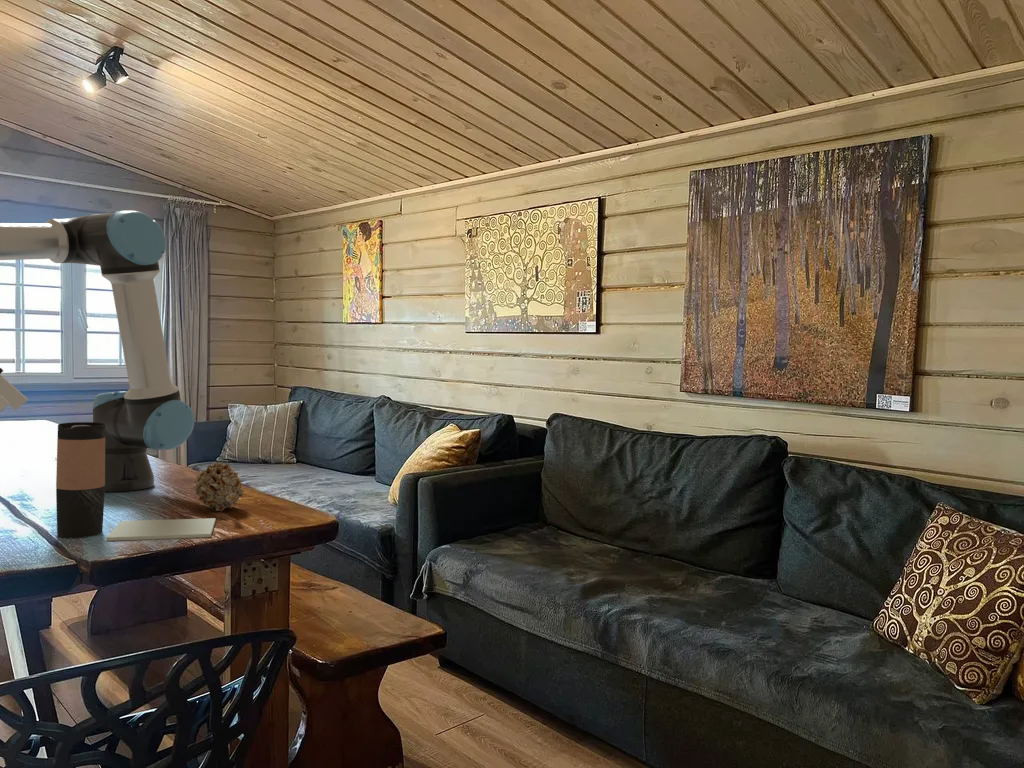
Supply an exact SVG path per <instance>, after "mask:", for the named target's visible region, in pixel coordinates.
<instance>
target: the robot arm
mask: <svg viewBox="0 0 1024 768" xmlns="http://www.w3.org/2000/svg"><path fill="white" fill-rule="evenodd" d="M165 235H166V234H165V232H164V230H163V229H162V227H161V226H160V224H159V223H158V221H156V219H154V218H153V217H152V216H150V215H148V213H147V214H146V213H145V212H142V211H138V210H124V209H123V210H117V211H112V212H111V211H110V212H103V213H93V214H87V215H82V216H77V217H68V218H50V219H47V220H46V221H45V222H44V223H34V222H33V223H32V222H31V223H27V222H26V223H21V222H20V223H19V222H18V223H17V222H16V223H15V222H11V223H10V222H6V223H5V222H1V223H0V261H13V260H14V261H15V260H16V261H19V260H20V261H21V260H50V261H51V262H52V263H53V264H81V265H90V266H91V265H92V266H100V267H99V268H100V272H101V277H103V278H104V279H105V280H107V281H108V282H110V284H111V289H112V296H113V300H114V306H115V310H116V311H115V312H116V319H117V323H118V329H119V334H120V339H121V345H122V350H123V356H124V358H123V359H124V362H125V368H126V375H127V380H128V384H129V388H128V390H127V391H113V392H103V393H98V394H96V395H95V396H94V399H93V405H92V409H91V411H92V422H96V423H104V424H105V493H109V492H110V493H116V492H117V493H118V492H131V491H140V490H144V489H148V488H152V487H154V485H155V476H154V472H153V469H152V466H151V463H150V460H149V457H148V454H147V453H148V449H151V450H154V451H167V450H168V451H169V450H174V449H176V448H178V447H180V446H182V445H183V444H185V442H186V441H187V440H188V438H189V437H190V436H191V435H192V431H193V430H194V427H195V415H194V412H193V409H192V408H191V407H190V406H189V405H188V404H187V402H185V401H183V400H182V398H181V393H180V388H179V387H178V386H177V385H176V384H174V383H173V382H171V375H170V368H169V364H168V357H167V352H166V346H165V339H164V334H163V333H164V332H163V328H162V323H161V322H162V321H161V314H160V308H159V305H158V304H159V303H158V302H159V301H158V297H157V292H156V291H157V290H156V286H155V278H156V277H157V276H158V274H159V273H160V265H159V261H160V260H161V259H162V258H163V255H164V254H165V253H166V252H165V251H166V248H167V239H166V236H165ZM1 373H4V369H3V368H2V367H0V413H1V412H2V411H4V410H5V408H7V407H8V406H9V407H11V408H12V409H13V410H14V411H17V410H18V409H19V408H20V407H22V406H23V405H24V404H25V403H26V402H28V401H29V398H27V396H25V395H24V394H23V393H22V392H21V391H20V390H19V389H18V388H16V387H15V386H14V385H13V384H12V383H10V382H9V380H7V378H5V377H4V376H3V375H2V374H1Z"/></svg>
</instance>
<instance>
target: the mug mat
mask: <svg viewBox="0 0 1024 768" xmlns="http://www.w3.org/2000/svg"><path fill="white" fill-rule="evenodd" d="M216 521H217V520H216V518H215V517H214V518H213V517H210V518H179V519H175V518H174V519H145V520H144V519H143V520H142V519H141V520H140V519H139V520H121V521H120V522H119V523H118V524H117V525H116V526H115V527H114V528H113V530H112V531H111V532H110V533H109V534H108V536H106V542H110V541H111V542H112V541H113V542H114V541H139V540H140V541H141V540H163V539H165V540H168V539H169V540H170V539H193V538H211V537H212V533H213V530H214V527H215V525H216Z"/></svg>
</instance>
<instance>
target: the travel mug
mask: <svg viewBox="0 0 1024 768" xmlns="http://www.w3.org/2000/svg"><path fill="white" fill-rule="evenodd" d="M56 443H57V444H56V446H57V447H56V474H55V475H56V477H55V480H56V482H55V486H56V487H55V488H56V489H55V492H56V493H55V494H56V495H55V498H56V532H57V533H56V534H57V537H59V538H63V539H64V538H65V539H79V538H89V537H94V536H97V535H101V534H102V532H103V526H104V525H103V524H104V509H105V493H106V492H105V424H104V423H96V422H93V421H92V422H91V421H86V422H85V421H81V422H80V421H79V422H77V421H76V422H73V421H72V422H62V423H58V424H57V441H56Z"/></svg>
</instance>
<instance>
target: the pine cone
mask: <svg viewBox="0 0 1024 768" xmlns="http://www.w3.org/2000/svg"><path fill="white" fill-rule="evenodd" d="M238 476H239V472H236V471H235V469H234V468H233V467H231V466H230V463H224V464H223V463H222V461H221V462H219V461H218V462H216V461H215V462H214V463H213V464H212V465H211V464H210V463H209V464H208V466H206V469H205V470H201V469H199V474H197V475H195V478H196V481H194V483H195V484H196V485H194V486H193V487H192V489H193V490H195V491H194V492H195V495H196V496H198V497H199V498H198V499H197V501H200V502H203V503H202V504H203V505H205V506H208V508H209V509H213V508H214V509H215V512H217V511H218V512H223V511H224V510H225V509H228V508H230V509H231V510H233V505H234V506H236V507H237V506H238V505H237V503H238V500H239V499H240V498H243V497H244V495H243V494H244V492H245V490H243V489H242V487H243V486H244V484H243V483H242V480H243V479H242V478H241V477H238Z"/></svg>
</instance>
